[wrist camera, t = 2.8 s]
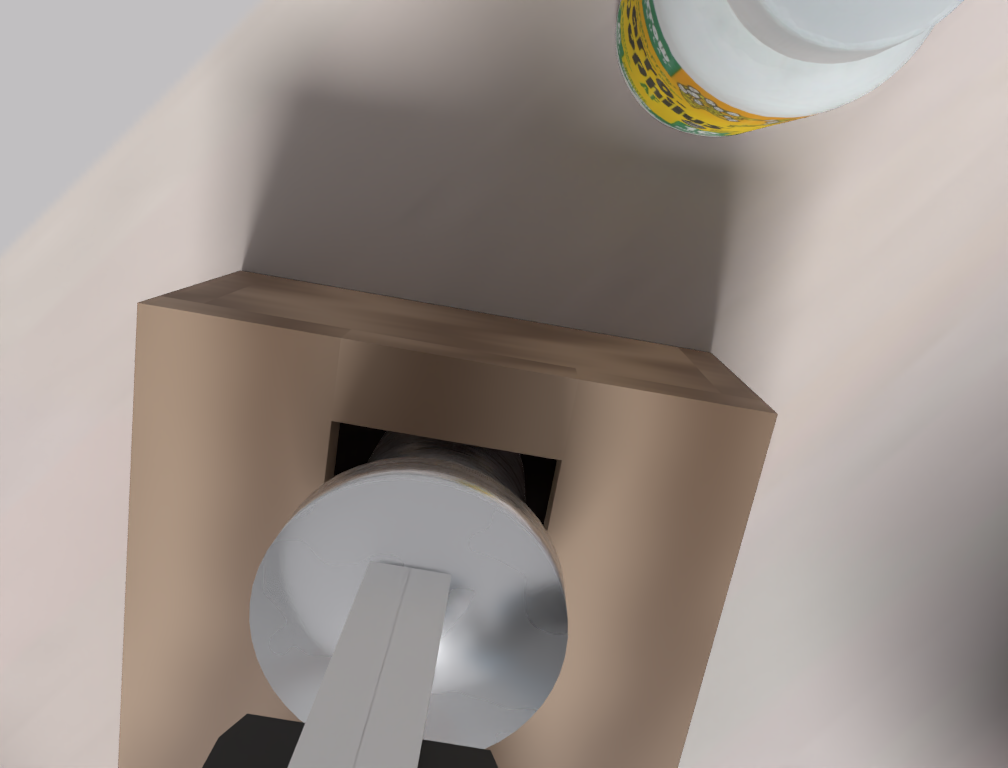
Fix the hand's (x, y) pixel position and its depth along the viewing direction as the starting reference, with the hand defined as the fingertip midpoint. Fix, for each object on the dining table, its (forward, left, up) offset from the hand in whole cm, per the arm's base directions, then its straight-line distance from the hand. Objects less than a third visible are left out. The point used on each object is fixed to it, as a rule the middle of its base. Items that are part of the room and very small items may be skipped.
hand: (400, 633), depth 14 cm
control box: (0, +10, -10) cm, 14 cm away
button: (0, 0, -7) cm, 7 cm away
